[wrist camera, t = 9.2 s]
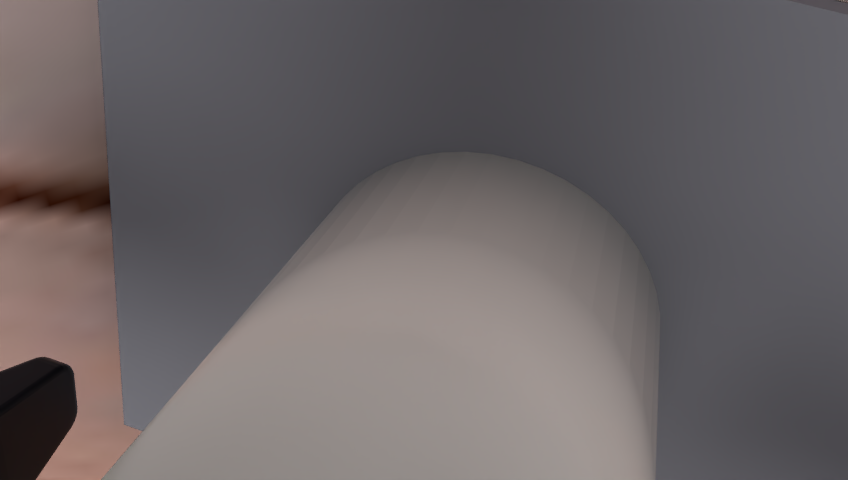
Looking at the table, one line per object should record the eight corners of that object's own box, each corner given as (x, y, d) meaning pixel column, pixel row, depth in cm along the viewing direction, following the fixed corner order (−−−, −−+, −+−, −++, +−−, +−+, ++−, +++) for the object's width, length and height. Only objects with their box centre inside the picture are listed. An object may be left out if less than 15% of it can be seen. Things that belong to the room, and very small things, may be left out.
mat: (1138, 72, 9) (1175, 92, 8) (744, 619, 16) (747, 656, 15) (122, -169, 11) (87, -168, 11) (145, 400, 18) (124, 424, 17)
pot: (719, 218, 11) (775, 732, 5) (595, 490, 14) (536, 1001, 8) (330, 105, 12) (-36, 421, 6) (298, 386, 15) (44, 776, 9)
